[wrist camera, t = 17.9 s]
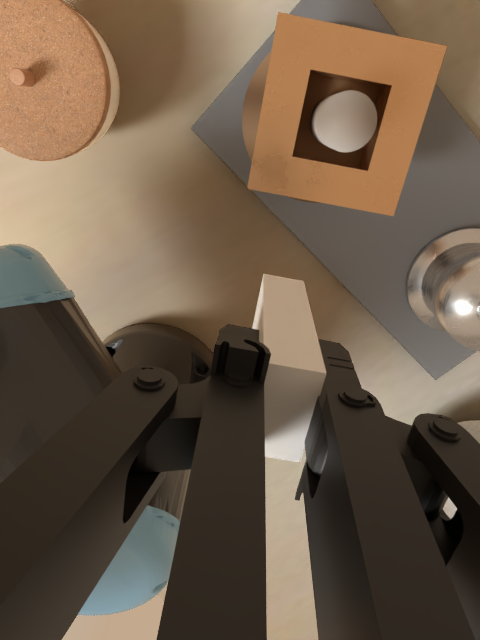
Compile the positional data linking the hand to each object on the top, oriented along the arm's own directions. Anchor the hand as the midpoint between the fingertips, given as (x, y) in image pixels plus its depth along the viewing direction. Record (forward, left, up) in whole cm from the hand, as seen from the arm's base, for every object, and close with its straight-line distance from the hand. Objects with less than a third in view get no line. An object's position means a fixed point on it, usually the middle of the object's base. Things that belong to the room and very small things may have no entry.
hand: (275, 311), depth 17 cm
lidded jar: (+6, +18, -27) cm, 33 cm away
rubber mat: (+2, -11, -26) cm, 29 cm away
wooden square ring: (+7, -3, -18) cm, 20 cm away
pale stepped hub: (-4, -19, -25) cm, 32 cm away
